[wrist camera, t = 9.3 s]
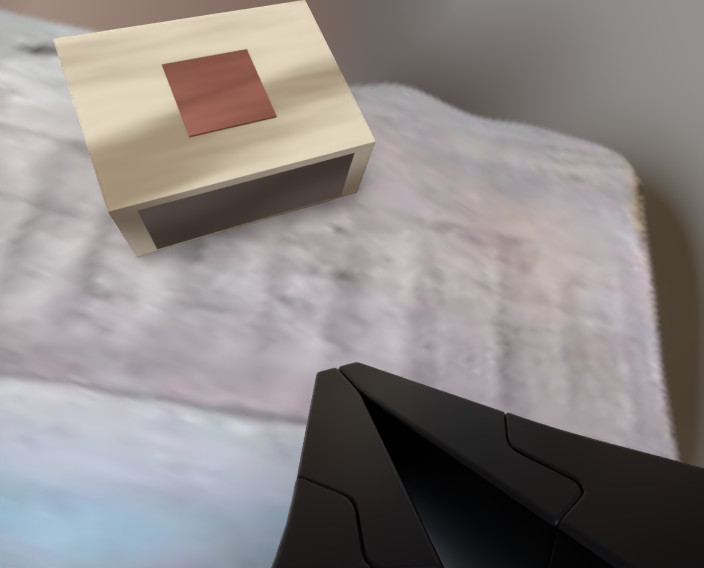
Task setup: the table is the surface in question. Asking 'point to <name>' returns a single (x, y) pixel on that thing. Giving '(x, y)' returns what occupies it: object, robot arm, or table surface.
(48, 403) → the table surface
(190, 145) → the birch block
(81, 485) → the table surface
